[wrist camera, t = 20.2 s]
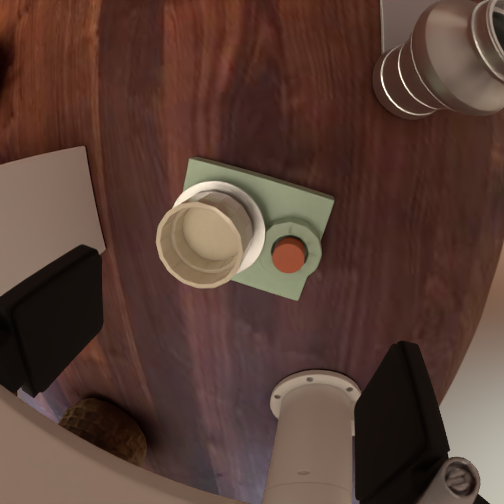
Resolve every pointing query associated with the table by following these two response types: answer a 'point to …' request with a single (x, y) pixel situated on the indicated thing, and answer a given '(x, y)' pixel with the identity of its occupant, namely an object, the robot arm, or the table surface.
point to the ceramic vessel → (106, 429)
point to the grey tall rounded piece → (446, 62)
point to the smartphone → (399, 20)
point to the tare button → (288, 255)
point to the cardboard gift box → (45, 212)
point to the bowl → (204, 239)
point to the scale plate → (247, 204)
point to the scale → (274, 222)
